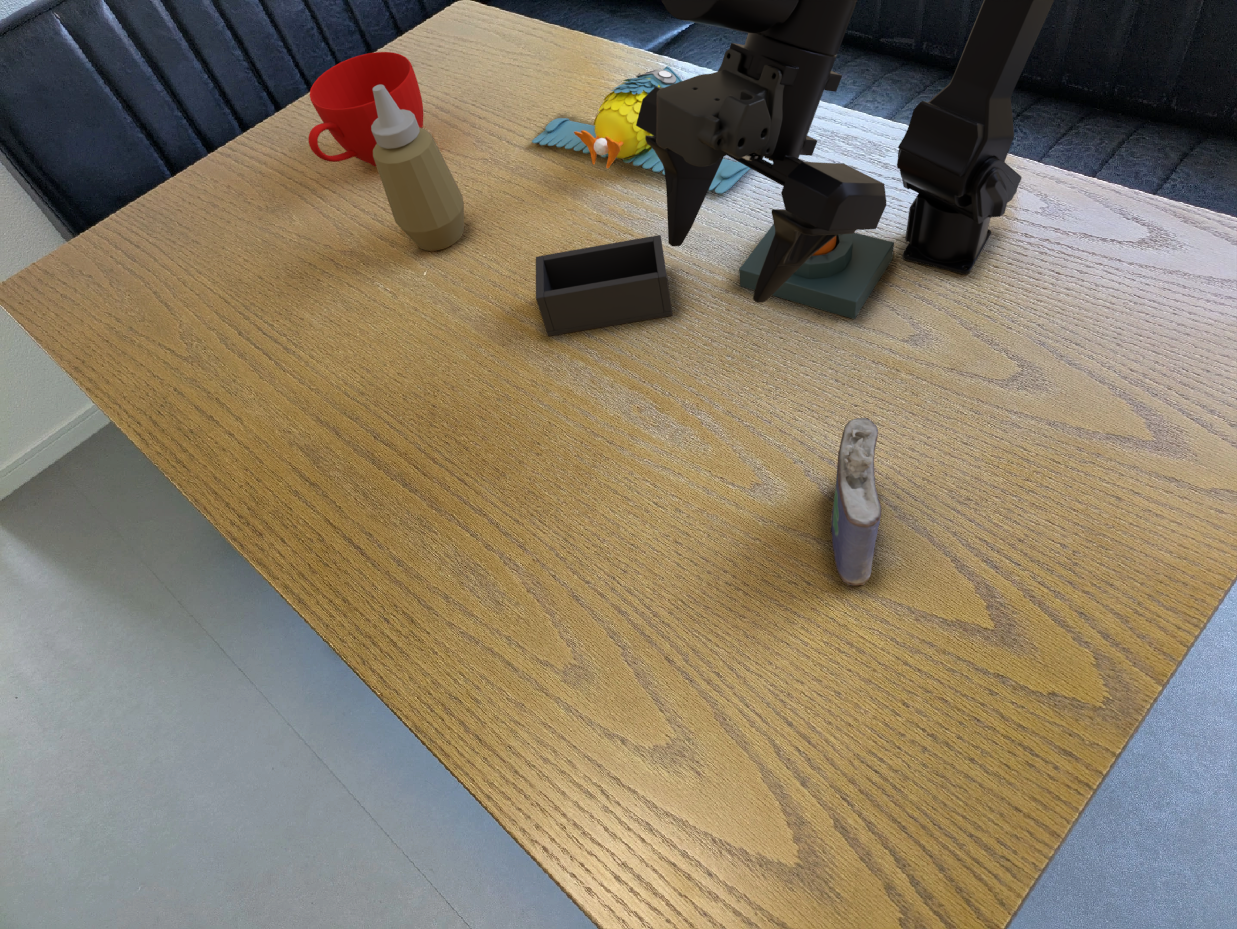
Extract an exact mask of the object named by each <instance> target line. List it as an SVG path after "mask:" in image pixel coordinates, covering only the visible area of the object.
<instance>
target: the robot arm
mask: <svg viewBox="0 0 1237 929" xmlns="http://www.w3.org/2000/svg"><path fill="white" fill-rule="evenodd" d="M857 2H858V0H661V3H662V5H663V6H664V8H665V10H666V11H667V12H668V13H669V14H670V15H672V17H674V19H677V20H679V21H683V22H690V23H694V24H698V25H699V24H700V25H706V26H711V27H714V28H715V27H716V28H721V29H726V30H729V31H730V30H731V31H736V32H742V33H746V34H747V35H746V39H745V42H744V44H740V43H735V42H730V45H729V48H728V49H727V50H726V51H725V52H724V54H723V57H722V61H721V63H720V66H719V68H718V70H717V71H716V72H715V71H714V72H712V73H702V74H698V75H695V76H693V77H689V78H688V79H687V78H686V79H684V80H682V81H681V82H678V83H676V84H673V85H670V86H667V87H664V88H662V87H655V88H654V89H653V90H652V91H651V92H650V93H649V94H647V95H646V96H645V97H644V98H643V100H642V104H641V108H640V112H639V116H638V120H637V124H636V126H638V127H639V128H641V129H643V130H645V131H646V132H648V133H650V134H652V135H653V136H649V135H647V136H645V139H646V142H647V144H648V145H649V146H651V147H652V148H653V149H654V151H655V153H656V154H657V156H658V158H659V159H660V161H661V162H662V164H663V167H664V169H663V170H664V172H665V175H664V179H665V190H666V192H665V193H666V212H667V213H666V214H667V216H666V217H667V240H668V241H667V242H668V245H669V246H671V247H680V246H682V245H683V243H684V242H685V240H686V238H687V236H688V235H689V233H690V231H691V229H692V228H693V226H694V223H695V221H696V219H697V216H698V215H699V212H700V210H701V208H702V205H703V203H704V201H705V199H706V197H707V195H708V193H709V191H708V190H709V188H710V186H711V184H712V181H713V179H714V177H715V175H716V173H717V171H718V168H719V166H720V164H721V162H722V160H723V159H724V157H726V156H727V157H729V158H731V159H732V160H733V161H735V162H740V163H742V164H744V165H745V166H747V167H749V168H751V169H750V170H752V171H755V172H756V173H758V174H760V175H762V176H764V177H766V178H768V179H769V180H771V181H773V182H775V183H776V184H779V185H780V186H782V188H781V191H780V194H781V198H782V203H783V206H784V208H781V209H779V208H777V209H776V208H775V209H773V208H772V209H771V217H772V221H773V224H774V226H775V235H774V238H773V240H772V243H771V246H770V248H769V251H768V254H767V256H766V259H765V262H764V264H763V267H762V270H761V272H760V275H759V278H758V281H757V284H756V288H755V290H754V293H753V296H752V300H753V302H755V303H757V304H760V303H761V304H762V303H765V302H767V301H768V300H769V299H770V298H771V297H772V296H773V294H774V293H775V292H776V291H777V290H778V289H779V288H780V287H781V286H782V285H783V284H784V283H785V282H786V281H787V280H788V279H789V278H790V277H791V276H792V275H793V274H794V273H795V272H796V271H797V270H798V269H799V268H800V267H801V266H802V264H804V263H805V262H806V261H807V260H808V259H809V258H810V257H811V256H812V255H813V254H814V253H816V252H817V251H818V250H819V249H821V248H822V247H823V246H824V245H825V244H827V243H828V242H829V241H830V240H832V239H833V238H834V237H835V236H836V235H838V234H853V233H856V232H857V231H865V230H866V231H867V230H876V229H877V227H878V225H879V223H880V220H881V219H882V216H883V214H884V212H885V210H886V207H887V195H886V187H885V183H884V182H882V181H880V180H878V179H876V178H874V177H872V176H870V175H868V174H866V173H863V172H861V171H860V170H858V169H855V168H853V167H852V166H849V165H847V164H845V163H838V162H837V163H836V162H819V161H818V162H816V161H805V160H802V159H800V156H813V154H814V152H815V148H816V145H817V144H818V140H817V139H815V138H813V137H811V136H809V132H810V130H811V127H812V123H813V121H814V118H815V115H816V113H817V110H818V108H819V105H820V102H821V99H822V97H823V94H824V92H825V91H828V92H835V93H836V92H837V91H838V88H839V86H840V83H841V80H842V78H843V75H842V74H840V73H837V72H835V71H833V70H832V69H833V67H834V64H835V61H836V60H837V55H838V54H839V51H840V49H841V45H842V43H843V40H844V37H845V35H846V32H847V29H848V26H849V24H850V20H851V18H852V16H853V14H854V10H855V8H856V4H857ZM1054 2H1055V0H983V2H982V4H981V6H980V8H979V11H978V14H977V16H976V19H975V21H974V24H973V26H972V28H971V31H970V34H969V36H968V39H967V41H966V43H965V46H964V48H963V50H962V54H961V55H960V56H961V57H960V58H959V60H958V64H957V66H956V68H955V71H954V73H953V75H952V78H951V80H950V81H949V83H948V84H947V85H946V86H945V87H944V88H942V89H941V90H940V91H939V92H938V93H937V94H936V95H935V96H934V97H932V98H931V99H930V100H929V101H925V100H921V101H920V102H919V103H917V105H916V106H915V107H914V109H913V110H912V113H911V117H910V121H909V123H908V127H907V129H906V131H905V134H904V136H903V137H902V139H901V141H900V142H899V145H898V153H897V160H896V162H897V163H896V168H897V169H898V170H899V174H900V178H901V180H902V185H903V188H905V189H907V190H912V191H913V192H915V193H918V194H917V195H916V197H915V198H914V200H913V201H912V203H911V204H910V206H909V210H908V217H907V224H906V231H905V237H904V240H905V241H906V243H908V244H907V246H906V248H905V249H904V250H903V252H902V259H904V260H905V261H909V262H913V263H917V264H921V265H925V266H929V267H934V268H937V269H941V270H945V271H949V272H953V273H956V274H961V275H969V274H971V272H972V271H973V269H974V267H975V265H976V263H977V261H979V258H980V256H981V254H982V252H983V251H984V249H985V247H986V245H987V244H988V242H989V240H990V238H991V236H992V231H991V230H990V229H989V227H990V223H991V219H992V218H1000V217H1002V216H1003V215H1004V214H1005V213H1006V210H1007V206H1008V203H1010V202H1011V201H1012V200H1013V198H1014V196H1015V195H1016V194H1017V191H1018V188H1019V186H1020V183H1021V181H1022V178H1023V177H1022V175H1020V174H1019V173H1018V172H1017V171H1016V170H1014V169H1013V168H1012V167H1011V166H1010V165H1009V164H1007V162H1006V159H1007V156H1008V154H1009V151H1010V149H1011V146H1012V144H1013V141H1014V138H1015V128H1014V119H1013V109H1012V96H1013V93H1014V90H1015V88H1016V85H1017V83H1018V82H1019V80H1020V77H1021V74H1022V73H1023V70H1024V68H1025V66H1026V63H1027V61H1028V59H1029V57H1030V55H1031V52H1032V51H1033V49H1034V46H1035V43H1036V42H1037V40H1038V37H1039V35H1040V33H1041V30H1042V28H1043V26H1044V23H1045V22H1046V19H1047V17H1048V15H1049V12H1050V10H1051V8H1052V6H1053V4H1054ZM765 159H766V160H765ZM767 160H768V161H767ZM769 161H770V162H769ZM771 162H772V163H771Z"/></svg>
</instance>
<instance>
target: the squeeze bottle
mask: <svg viewBox="0 0 1237 929" xmlns="http://www.w3.org/2000/svg"><path fill="white" fill-rule="evenodd" d="M373 94H374V99H375V104H376V109H377V114H378V118H377V119H376V120H375V121H374V122H373V124H372V126H371V131H372V133H373V135H374V138H375V140H376V142H377V144H376V146H375V147H374V149H373V157H374V160H375V163H376V166H377V167H376V169H377V172H378V176H379V178H380V181H381V184H382V188H383V189H384V190H383V191H384V193H385V196H386V199H387V202H388V205H389V208H390V211H391V214H392V217H393V220H394V222H395V224H396V225H397V226H398V227H399V228H400V230H401V231H402V232H404V234H405V235H406V236H408V237H409V239H410V240H411V241H412V242H413V243H414V244H415V245H416V246H417V247H418V248H419V249H421V250H424V251H428V252H429V251H432V252H433V251H440V250H443V249H447V248H448V247H450V246H452V245H454V244H455V243H457V242H458V241H459V240H460V239H461V238H462V236H463V233H465V232H464V231H465V204H464V203H465V202H464V196H463V194H462V192H461V190H460V188H459V186H458V184H457V182H456V180H455V178H454V176H453V174H452V172H451V170H450V168H449V166H448V164H447V162H446V160H445V158H444V156H443V154H442V152H441V150H440V148H439V146H438V144H437V143H436V141H435V139H434V136H433V134H432V133H431V132H430V131H429V130H428V129H426V128H420V127H419V125H418V123H417V120H416V118H415V115H414V114H413V113H412V112H411V111H408V110H404V109H403V110H400V109H399V107H398V106H397V104H396V103H395V101H394V100H393V98H392V97H391V96H390V94H389V93H388V91H387V90H386V88H385V87H384V85H377V86H375V87H373Z"/></svg>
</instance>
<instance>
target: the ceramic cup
mask: <svg viewBox="0 0 1237 929" xmlns="http://www.w3.org/2000/svg"><path fill="white" fill-rule="evenodd" d="M313 82H314V83H313V84H312V86H311V87H310V90H309V99H310V103H311V104H312V106H313V108H314V109H315V111H316V113H317V115H318V117H319V119H320V120H321V121H322V123H318V124H315V126H313V127H312V129H310V131H309V134H308V139H307V140H308V145H309V148H310V150H311V151H312V153H313V154H314V155H315V156H316V157H317V158H319V159H321V160H322V161H325V162H331V163H338V162H343V161H346V160H350V159H351V158H356V159H358V160H360V161H362V162H365V163H367V164H369V165H371V166H373V167H376V168H377V166H376V163H375V160H374V157H373V149H374V147H375V146H376V144H377V142H376V140H375V138H374V135H373V133H372V131H371V126H372V124H373V122H374V121H375V120H376V119H377V118H378V114H377V109H376V104H375V99H374V94H373V87H375V86H377V85H384V87H385V88H386V90H387V91H388V93H389V94H390V96H391V97H392V98H393V100H394V101H395V103H396V104H397V106H398V107H399V109H400V110H403V109H404V110H408V111H411V112H412V113H413V114H414V115H415V118H416V120H417V123H418V125H419V127H420V128H423V127H424V103H423V98H422V93H421V89H420V86H419V82H418V79H417V76H416V73H415V70H414V68H413V65H412V62H411V61H410V60H409V59H408V58H407V57H406V56H405V55H403V54H400V53H396V52H391V51H376V52H368V53H364V54H359V55H356V56H353V57H350V58H348V59H346V60H343V61H340V62H339V63H337V64H335V65H334V66H331V67H330V68H329V69H327V70H325V71H324V72H322V74H321V75H319V76H318V77H317V79H316V80H315V81H313ZM423 129H424V128H423ZM324 131H328V132H329V133H330V135H331V136H332V137H333V139H334V140H335V141H336V142H337V144H338V145H340V147H342V149H344V150H345V151H344V152H342V153H341V152H340V153H339V154H334V155H330V154H326V153H325V152H323V151H322V150H321V148H320V146H319V142H318V140H319V137H320V135H321V134H322V133H323V132H324Z"/></svg>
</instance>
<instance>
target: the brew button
mask: <svg viewBox="0 0 1237 929" xmlns="http://www.w3.org/2000/svg"><path fill="white" fill-rule="evenodd" d="M835 246H836V236H835V237H834V238H833V239H832V240H830V241H829V242H828V243H827V244H825V245H824V246H823V247H822V248H821V249H819V250H818V251H817V252H816V253H814V254H813V255H812V256H815V255H825V254H827V253H829V252H831V251H832V250H833V249H834V248H835Z"/></svg>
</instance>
